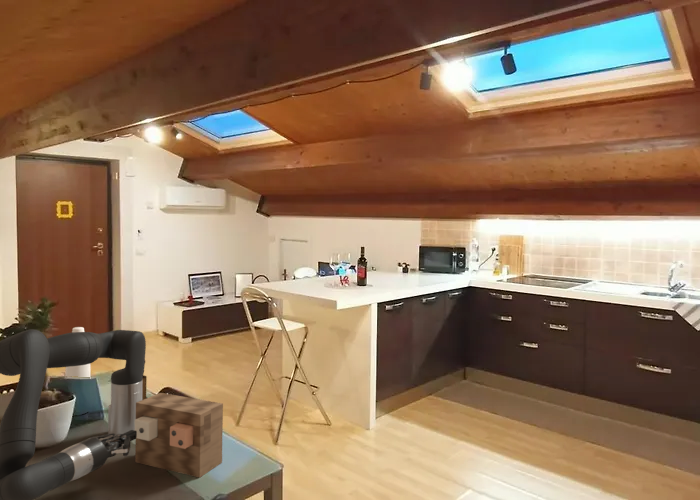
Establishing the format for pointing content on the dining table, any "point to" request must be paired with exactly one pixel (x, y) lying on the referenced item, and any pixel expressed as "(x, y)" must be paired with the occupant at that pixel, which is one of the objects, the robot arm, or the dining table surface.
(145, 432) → the one dot button
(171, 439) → the two dot button
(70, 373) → the bottle
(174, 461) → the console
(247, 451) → the dining table surface
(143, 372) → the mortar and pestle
